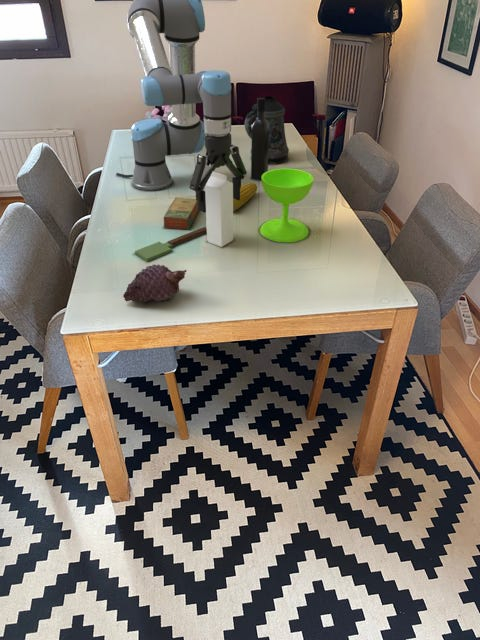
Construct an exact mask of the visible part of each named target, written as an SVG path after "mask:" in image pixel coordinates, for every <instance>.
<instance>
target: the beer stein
mask: <svg viewBox="0 0 480 640" xmlns="http://www.w3.org/2000/svg"><path fill="white" fill-rule="evenodd" d="M263 98H265V116H264V118H265V120H266V121H267V122H268V124H269V148H268V165H279V164H282V163H283V164H284V163H286V161H287V160H288V156H289V153H290V150H289V146H288V143H287V138H286V137H287V136H286V130H285V119H284V115H285V113H286V109H285V107H284V106H283V105H282V104H281V103H280V102H279V101H277V98H276V97H275V96H265V97H263ZM256 119H257V103H255V104H253V105H252V107H251V111H249V112H248V113H246V116H245V119H244V129H245V132H246V134H247V136H248V137H249V139H250V140H252V124H253V123H252V122H254V121H253V120H256Z"/></svg>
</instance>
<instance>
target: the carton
mask: <svg viewBox="0 0 480 640" xmlns="http://www.w3.org/2000/svg"><path fill="white" fill-rule="evenodd" d="M198 211H199V210H198V201H196V198H189V197H174V200H173V201H172V202H171V204H170V206H169V207H168V209H167V211H166V212H165V214H164V216H163V227H164V229H174V230H189V229H190V227H191V225H192V223H193V221H194V219H195V217H196V215H197V213H198Z"/></svg>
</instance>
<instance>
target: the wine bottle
mask: <svg viewBox="0 0 480 640" xmlns="http://www.w3.org/2000/svg"><path fill="white" fill-rule="evenodd" d="M256 104H257V118H255V119H254V121H253V123H252V124H251V128H252V139H251V145H250V146H251V148H250V155H251V157H250V178H251V180H256V181H262V179H261V177H262V175H263V174H264V173H265V172H267V171H269V164H268V148H269V124H268V122H267V121H266V120H265V118H264V116H265V98H264V97H257V98H256Z"/></svg>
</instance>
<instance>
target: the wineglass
mask: <svg viewBox="0 0 480 640" xmlns="http://www.w3.org/2000/svg"><path fill="white" fill-rule="evenodd" d="M261 179H262V180H261V186H262V188H263V191H264V193H265V194H266V195H267V196H268V197H269V199H271V200H272V201H273V202H276V203H278V204H280V205H282V212H281V215H282V216H281V218H273V219H270V220H268V221H266V222H264V223H263V224H262V225H261V226H260V228H259V233H260V235H261V236H262V237H263V238H264V239H267V240H269V241H271V242H272V241H273V242H275V243H276V242H277V243H296V242H299V241H302V240H304V239H306V238H307V237H308V236H309V234H310V231H309V228H308V226H307V225H306V224H304V222H302V221H299V220H297V219H293V218H289V207H290V205H294V204H296V203H298V202H300V201H302V200H304V198H306V196H308V195H309V193H310V191H311V189H312V187H313V183H314V176H313V175H312V174H311V173H309V172H308V171H306V170H301V169H296V168H288V167H287V168H286V167H285V168H274V169H271V170H270V169H269V170H268V171H267V172H265V173H264V174H263V175H262V177H261Z"/></svg>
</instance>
